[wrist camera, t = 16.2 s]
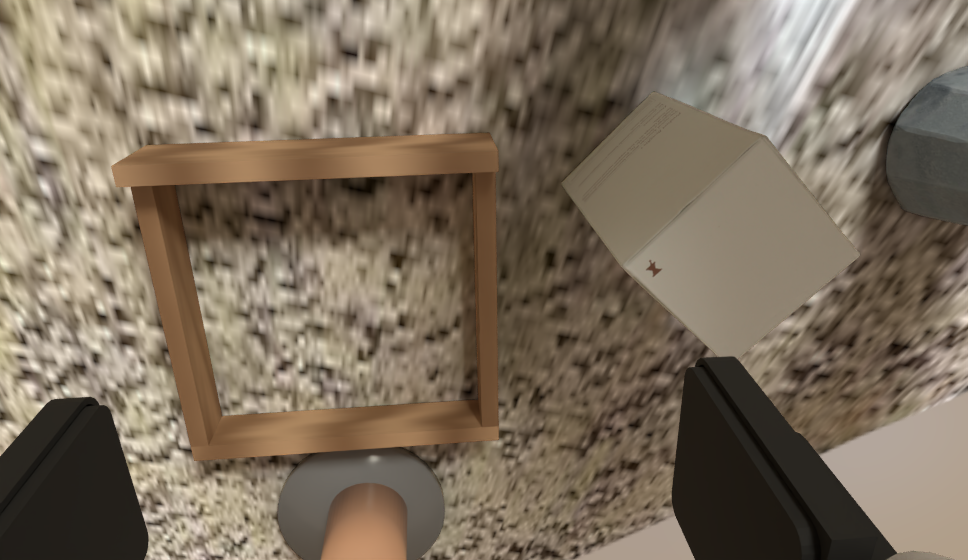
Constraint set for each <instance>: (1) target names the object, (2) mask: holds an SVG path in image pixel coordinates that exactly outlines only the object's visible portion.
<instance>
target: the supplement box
mask: <svg viewBox="0 0 968 560" xmlns="http://www.w3.org/2000/svg"><path fill="white" fill-rule="evenodd" d="M561 185H562V186H563V188H564V189H565V191H566V192H567V193H568V195H569V196H570V197H571V199H572V200H573V202H574V203H575V204H576V206H577V207H578V208H579V210H580V211H581V213H582V214H583V215H584V217H585V218H586V219H587V221H588V222H589V224H590V225H591V226H592V228H593V229H594V230H595V232H596V233H597V234H598V236H599V237H600V239H601V240H602V241H603V243H604V244H605V245H606V247H607V248H608V250H609V251H610V252H611V254H612V255H613V256H614V258H615V259H616V261H617V262H618V264H619V265H620V266H621V267H622V268H623V269H624V270H625V271H626V272H627V273H628V274H629V275H630V276H631V277H632V278H633V279H634V280H635V281H636V282H637V283H638V284H639V285H640V286H641V287H643V288H644V289H645V290H646V291H647V292H648V293H649V294H650V295H651V296H652V297H653V298H654V299H655V300H656V301H657V302H659V303H660V304H661V305H662V306H663V307H664V308H665V309H666V310H667V311H668V312H669V313H671V314H672V315H673V316H674V317H675V318H676V319H677V320H678V321H679V322H680V323H682V324H683V325H684V326H685V327H686V328H687V329H688V330H689V331H690V332H691V333H693V334H694V335H695V336H696V337H697V338H698V339H699V340H700V341H701V342H703V343H704V344H705V345H706V346H707V347H708V348H709V349H710V350H711V351H713V352H714V353H715V354H716V355H717V356H718V357H726V356H733V357H736V358H737V359H739V358H740V357H741V356H743V355H744V354H745V353H746V352H747V351H748V350H749V349H751V348H752V347H753V346H754V345H755V344H757V343H758V342H759V341H760V340H761V339H762V338H763V337H765V336H766V335H767V334H768V333H769V332H771V331H772V330H773V329H774V328H775V327H777V326H778V325H779V324H780V323H781V322H782V321H784V320H785V319H786V318H787V317H788V316H790V315H791V314H792V313H793V312H794V311H795V310H797V309H798V308H799V307H800V306H801V305H803V304H804V303H805V302H806V301H807V300H808V299H810V298H811V297H812V296H813V295H814V294H816V293H817V292H818V291H819V290H820V289H821V288H823V287H824V286H825V285H826V284H827V283H829V282H830V281H831V280H832V279H833V278H835V277H836V276H837V275H838V274H839V273H841V272H842V271H843V270H844V269H845V268H846V267H848V266H849V265H850V264H851V263H852V262H854V261H855V260H856V259H857V258H859V256H860V253H859V252H858V250H857V249H856V248H855V247H854V246H853V245H852V243H851V242H850V241H849V240H848V239H847V238H846V236H845V235H844V234H843V233H842V231H841V230H840V229H839V228H838V226H837V225H836V224H835V223H834V221H833V220H832V219H831V218H830V216H829V215H828V214H827V213H826V211H825V210H824V209H823V207H822V206H821V205H820V204H819V202H818V201H817V200H816V198H815V197H814V196H813V195H812V193H811V192H810V191H809V190H808V188H807V187H806V186H805V184H804V183H803V182H802V181H801V179H800V178H799V177H798V176H797V174H796V173H795V172H794V170H793V169H792V168H791V167H790V165H789V164H788V163H787V162H786V160H785V159H784V158H783V157H782V155H781V154H780V153H779V152H778V150H777V149H776V148H775V146H774V145H773V144H772V143H771V141H770V140H769V139H768V137H767V136H765V135H762V134H759V133H756V132H753V131H750V130H747V129H744V128H742V127H739V126H737V125H734V124H732V123H730V122H727V121H725V120H723V119H720V118H718V117H716V116H713V115H711V114H709V113H706V112H704V111H701V110H699V109H697V108H694V107H692V106H690V105H687V104H685V103H683V102H680V101H678V100H675V99H672V98H669V97H667V96H665V95H662V94H659V93H657V92H652V93H651V94H650V95H649V96H648V97H647V98H646V99H645V100H644V101H643V102H642V103H641V104H640V105H639V106H638V107H637V108H636V109H635V110H634V111H633V112H632V113H631V114H630V115H629V116H628V117H627V118H626V119H625V120H624V121H623V122H622V123H621V124H620V125H619V126H618V127H617V128H616V129H615V130H614V131H613V132H612V133H611V134H610V135H609V136H608V137H607V138H606V139H605V140H604V141H603V142H602V143H601V144H600V145H599V146H598V147H597V148H596V149H595V150H594V151H593V152H592V153H591V154H590V155H589V156H588V157H587V158H586V159H585V160H584V161H583V162H582V163H581V164H580V165H579V166H578V167H577V168H576V169H575V170H574V171H573V172H572V173H571V174H570V175H569V176H568V177H567V178H566V179H565V180H564V181H562V183H561Z"/></svg>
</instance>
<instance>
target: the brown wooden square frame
mask: <svg viewBox="0 0 968 560" xmlns="http://www.w3.org/2000/svg"><path fill="white" fill-rule="evenodd" d="M111 167H112V171H113V176H114V180H115V184H116V187H131V191H132V195H133V200H134V204H135V208H136V212H137V217H138V221H139V225H140V230H141V234H142V238H143V243H144V247H145V251H146V256H147V260H148V264H149V268H150V273H151V277H152V281H153V286H154V290H155V294H156V299H157V303H158V307H159V312H160V316H161V320H162V325H163V329H164V333H165V337H166V342H167V346H168V350H169V355H170V359H171V363H172V368H173V372H174V376H175V381H176V385H177V389H178V393H179V398H180V402H181V406H182V411H183V415H184V419H185V424H186V428H187V432H188V437H189V441H190V445H191V450H192V454H193V458H194V461H201V460H216V459H230V458H245V457H259V456H274V455H288V454H303V453H317V452H331V451H346V450H360V449H375V448H389V447H404V446H418V445H433V444H447V443H461V442H476V441H490V440H499V420H498V337H497V253H496V172H499V163H498V149H497V147H496V145H495V143H494V141H493V139H492V137H491V135H490V133H466V134H439V135H411V136H384V137H356V138H329V139H301V140H273V141H246V142H218V143H191V144H163V145H146V146H144V147H143V148H141V149H139V150H138V151H136V152H134V153H133V154H131V155H129V156H128V157H126V158H124V159H122V160H121V161H119V162H117V163H116V164H114V165H112V166H111ZM454 173H472V187H473V225H474V264H475V302H476V341H477V379H478V400H463V401H447V402H432V403H416V404H401V405H386V406H370V407H355V408H339V409H324V410H308V411H293V412H277V413H262V414H247V415H231V416H222V413H221V408H220V404H219V399H218V394H217V389H216V384H215V379H214V374H213V369H212V365H211V360H210V355H209V350H208V345H207V340H206V335H205V330H204V326H203V321H202V316H201V311H200V306H199V301H198V296H197V291H196V287H195V282H194V277H193V272H192V267H191V262H190V257H189V252H188V248H187V243H186V238H185V233H184V228H183V223H182V218H181V214H180V209H179V204H178V199H177V194H176V189H175V185H183V184H207V183H232V182H257V181H281V180H306V179H331V178H355V177H380V176H405V175H429V174H454Z"/></svg>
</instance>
